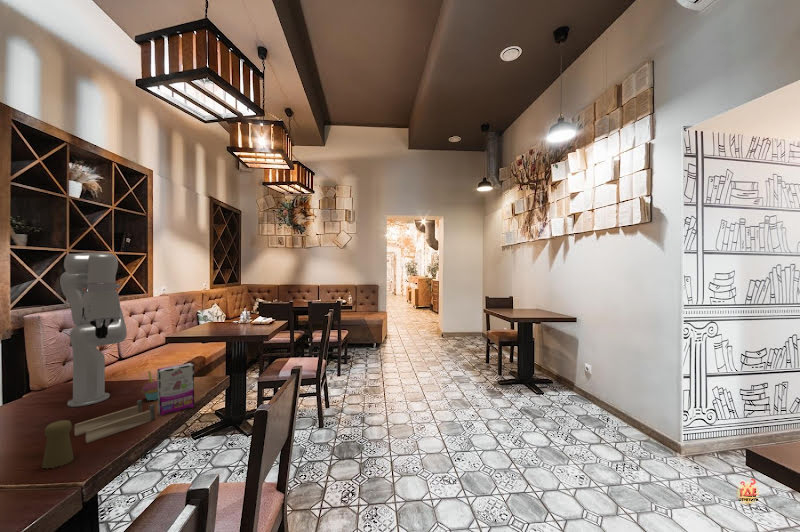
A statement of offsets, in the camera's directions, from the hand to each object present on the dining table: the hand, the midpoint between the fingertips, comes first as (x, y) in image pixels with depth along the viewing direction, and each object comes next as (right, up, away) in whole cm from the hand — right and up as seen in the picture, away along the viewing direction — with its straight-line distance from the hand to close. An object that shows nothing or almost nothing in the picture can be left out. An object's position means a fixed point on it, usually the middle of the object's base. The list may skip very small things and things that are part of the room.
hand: (101, 337), depth 120 cm
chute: (+14, -28, -9) cm, 33 cm away
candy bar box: (+25, -29, +4) cm, 38 cm away
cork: (+16, -28, -30) cm, 44 cm away
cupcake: (+7, -29, +16) cm, 34 cm away
